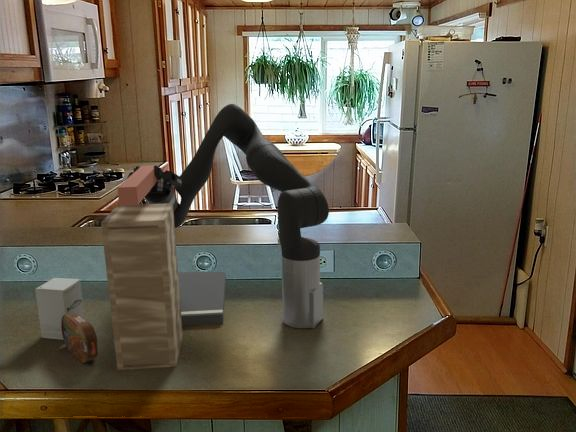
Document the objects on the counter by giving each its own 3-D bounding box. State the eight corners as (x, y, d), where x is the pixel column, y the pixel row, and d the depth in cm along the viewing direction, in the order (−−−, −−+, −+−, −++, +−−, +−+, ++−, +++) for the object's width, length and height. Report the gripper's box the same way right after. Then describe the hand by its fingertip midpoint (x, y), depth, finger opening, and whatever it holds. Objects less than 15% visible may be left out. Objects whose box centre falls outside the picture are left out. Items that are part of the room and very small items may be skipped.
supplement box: (69, 341, 122) (62, 290, 118) (41, 338, 123) (33, 288, 120) (87, 326, 129) (81, 278, 125) (60, 324, 130) (53, 276, 127)
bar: (143, 180, 123) (141, 165, 122) (158, 179, 124) (157, 165, 123) (119, 205, 98) (117, 187, 97) (138, 205, 99) (136, 186, 98)
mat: (165, 281, 156) (164, 272, 156) (225, 278, 158) (225, 270, 157) (148, 327, 128) (147, 317, 127) (223, 323, 129) (222, 313, 128)
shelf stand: (130, 337, 123) (117, 205, 114) (182, 334, 124) (172, 203, 115) (117, 370, 109) (100, 222, 101) (175, 366, 110) (164, 220, 102)
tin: (62, 343, 121) (57, 310, 118) (75, 339, 123) (71, 306, 120) (87, 369, 110) (83, 333, 108) (102, 364, 112) (98, 328, 110)
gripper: (131, 180, 135) (114, 155, 119) (186, 178, 136) (177, 153, 120) (130, 208, 133) (114, 186, 117) (187, 206, 134) (178, 184, 118)
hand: (146, 169), depth 118 cm, fingers closed on bar, 3 cm apart
